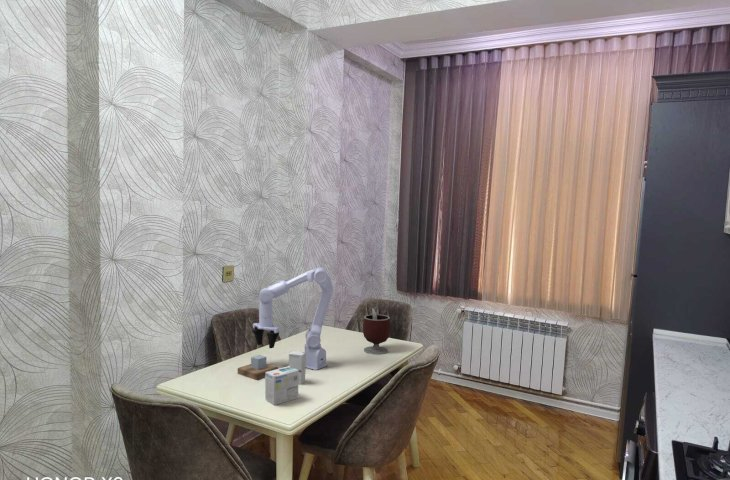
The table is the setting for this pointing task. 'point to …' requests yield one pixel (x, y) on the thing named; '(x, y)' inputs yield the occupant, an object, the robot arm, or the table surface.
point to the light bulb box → (281, 385)
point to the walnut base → (255, 371)
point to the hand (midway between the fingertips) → (265, 346)
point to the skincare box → (298, 364)
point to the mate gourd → (376, 332)
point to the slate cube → (258, 362)
